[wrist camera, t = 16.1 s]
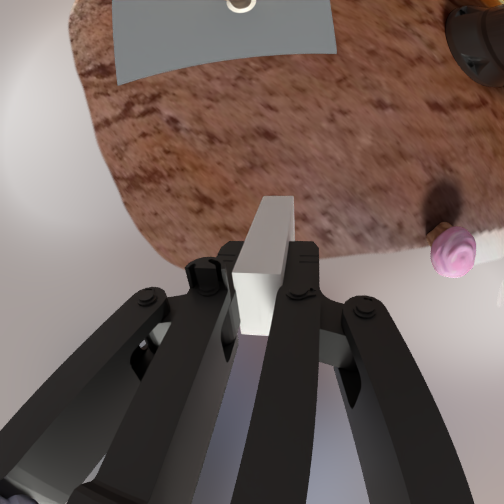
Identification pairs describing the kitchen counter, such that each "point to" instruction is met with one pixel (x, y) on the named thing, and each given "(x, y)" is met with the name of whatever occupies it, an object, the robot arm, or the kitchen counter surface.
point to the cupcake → (451, 250)
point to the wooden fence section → (240, 3)
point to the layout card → (214, 32)
